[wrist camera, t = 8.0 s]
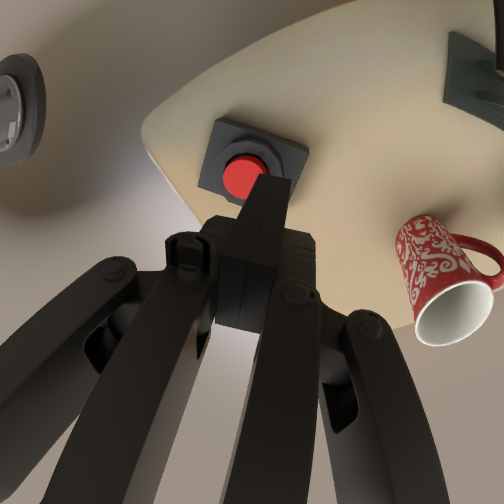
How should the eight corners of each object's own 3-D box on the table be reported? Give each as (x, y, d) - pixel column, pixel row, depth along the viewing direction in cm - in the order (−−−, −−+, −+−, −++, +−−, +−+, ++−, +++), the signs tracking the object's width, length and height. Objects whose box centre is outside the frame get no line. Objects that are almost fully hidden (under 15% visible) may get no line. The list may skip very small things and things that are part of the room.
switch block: (203, 180, 32) (191, 193, 29) (221, 116, 27) (209, 122, 24) (283, 209, 33) (280, 226, 29) (309, 148, 28) (310, 157, 25)
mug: (396, 277, 35) (418, 357, 24) (379, 223, 31) (409, 302, 20) (472, 247, 30) (514, 315, 19) (465, 189, 26) (525, 251, 15)
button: (223, 184, 28) (218, 190, 27) (234, 149, 26) (229, 153, 24) (259, 198, 28) (257, 205, 27) (273, 163, 26) (271, 168, 25)
